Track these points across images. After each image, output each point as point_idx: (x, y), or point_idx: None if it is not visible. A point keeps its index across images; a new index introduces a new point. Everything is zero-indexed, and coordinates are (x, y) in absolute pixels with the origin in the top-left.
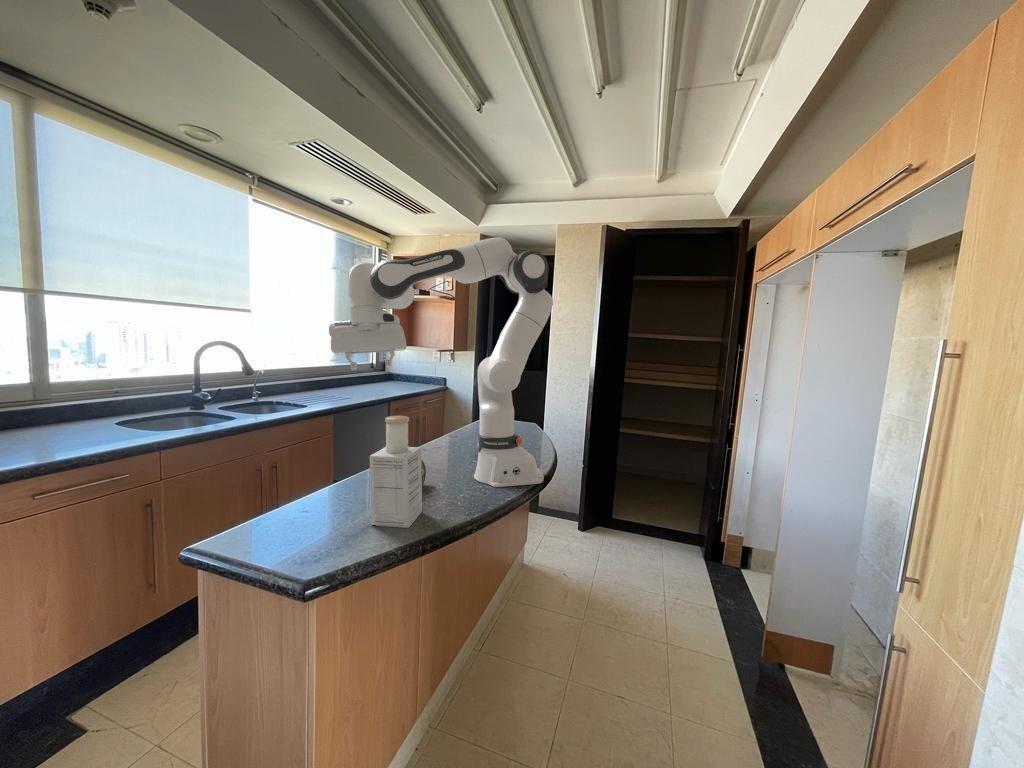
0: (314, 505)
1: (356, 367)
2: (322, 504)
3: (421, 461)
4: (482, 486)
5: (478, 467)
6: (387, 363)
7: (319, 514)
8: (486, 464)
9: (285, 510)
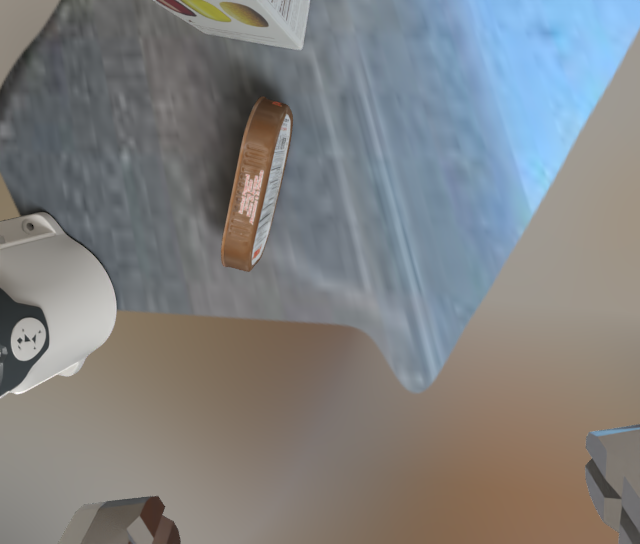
0: (534, 80)
1: (595, 455)
2: (510, 88)
3: (225, 256)
4: (83, 223)
5: (77, 286)
6: (116, 521)
7: (495, 9)
8: (35, 262)
9: (615, 38)
